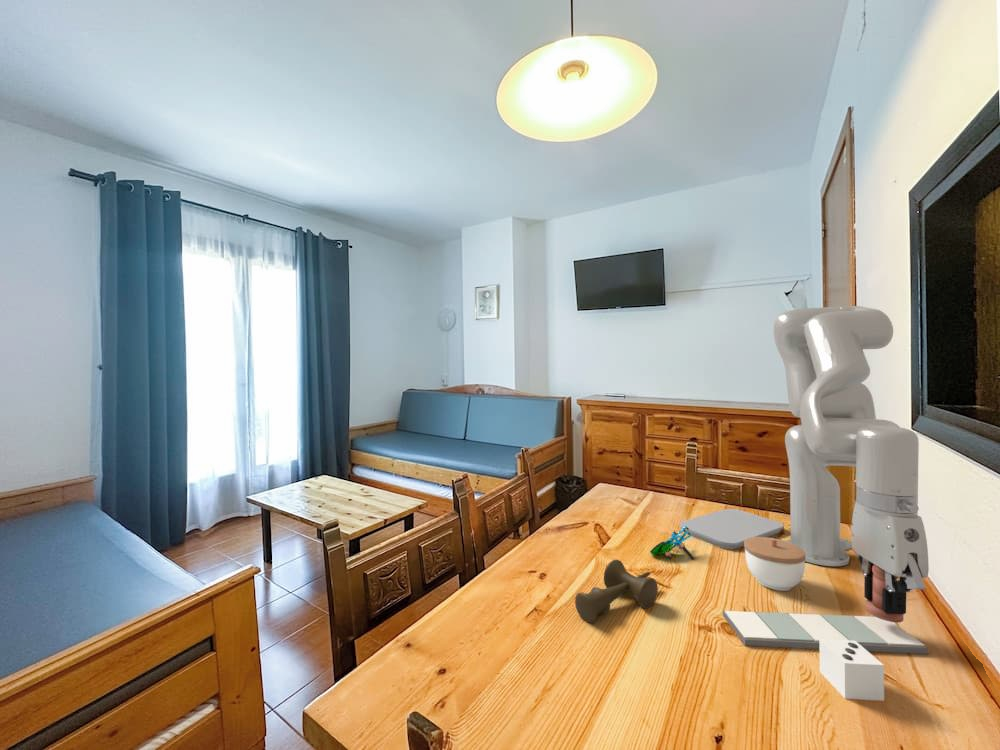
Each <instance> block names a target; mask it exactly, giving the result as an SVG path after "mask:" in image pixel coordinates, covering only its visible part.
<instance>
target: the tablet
mask: <svg viewBox="0 0 1000 750" xmlns="http://www.w3.org/2000/svg"><path fill="white" fill-rule="evenodd" d="M686 526H687V527H688V528H689V530H687V529H685V531H686V532H687V534H686V535H689V534H688V533H690V534H691V535H692V536H691V537H694V538H697V539H699V540H702V541H705V542H706V543H709V544H711V545H714V546H716V547H719V548H721V549H726V550H736V549H738V548H741V547H744V541H745V540H746V539H748V538H751V537H769V538H770V537H771V536H774V535H777V534H780V533H781V530H784V524H783V523H781V522H780V521H777V520H774V519H771V518H767V517H765V516H761V515H758V514H754V513H752V512H748V511H745V510H741V509H737V508H724V509H721V510H718V511H714V512H711V513H706V514H704V515H701V516H697V517H693V518H689V519H685V520H682V521H680V522H679V527H680V528H681V530H682V529H683V528H684V527H686ZM682 533H683V534H684V533H685V532H684V531H683V532H682Z"/></svg>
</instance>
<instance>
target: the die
mask: <svg viewBox="0 0 1000 750" xmlns="http://www.w3.org/2000/svg"><path fill="white" fill-rule="evenodd" d="M818 650H819V673H821V675H822V676H824V677H825V679H826V680H827V681H828V683H830V684H831V685H832V686H833V688H834V689H836V691H837V692H838V693H839V694H840V695H841V696H842V697H843V698H844V699H848V700H851V699H852V700H864V701H865V700H866V701H883V702H884V701H885V665H884V663H882V662H881V661H880V659H877V658H876V657H875V656H874V655H873V654H872V653H871V652H870V651H867V650H866V649H864V648H863V647H862V646H861V645H860V644H859V643H857V642H856V641H853V640H830V639H819V649H818Z"/></svg>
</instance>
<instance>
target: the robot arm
mask: <svg viewBox="0 0 1000 750" xmlns="http://www.w3.org/2000/svg"><path fill="white" fill-rule="evenodd" d="M893 336H894V326H893V323H892V321H891V319H890V317H889V316H888V315H887V313H885V312H883V311H882V310H879V309H876V308H871V307H866V306H859V305H846V306H845V305H843V306H842V305H841V306H828V307H807V308H805V307H804V308H797V309H792V310H788V311H784V312H782V313H780V314H779V315H778V316H776V318H775V320H774V323H773V338H774V343H775V346H776V348H777V352H778V353H779V356H780V358H781V359H782V361H783V364H784V368H785V379H786V380H785V381H786V389H787V401H788V405H789V406H788V407H789V410H790V413H791V414H792V415H793V416H794V417H797V418H800V421H801V422H800V423H801V424H798V425H794V426H792V427H790V428H788V430H787V431H786V433H785V436H784V445H785V449H786V454H787V455H786V456H787V460H788V468H789V491H790V492H789V493H790V494H789V495H790V496H789V498H790V499H789V502H790V503H789V505H790V509H789V510H790V511H789V513H790V517H789V518H790V539H787V540H785V541H786V542H789V543H792V544H794V545H796V546H798V547H800V548H801V549H802V550H803V551H804V552H805V562H806V563H810V564H813V565H819V566H824V567H843V566H847V565H849V563H850V556H849V555H848V553H847V552H849V551H852V552H853V553H854V554H855V555H856V557H857V559H858V561H859V563H860V565H861V573H862V574H863V576H864V593H863V594H864V596H863V597H864V598H865V599H866V600H873V571H872V566H873V565H874V564H875V565H876V566H878V567H880V568H881V569H883V570H885V581H886V588H883V590H882V610H883V611H884V612H885V613H887V614H904V615H906V614H907V593H910V592H911V591H912V590H926V584H925V582H924V580H923V579H925V578H927V577H928V576H929V567H930V566H929V552H928V551H929V550H928V539H927V534H926V530H925V525H924V523H923V522H924V521H923V518H922V516H920V515H918V514H919V513H918V511H919V501H918V500H919V499H918V498H919V449H920V448H919V445H920V444H919V437H918V434H916V432H914V430H911V429H908V428H905V427H900V425H898V424H897V423H895V422H893V421H891V420H887V419H878V418H877V417H876V410H875V403H874V398H873V395H872V393H871V391H870V390H869V388H868V387H867V385H865V384H863V382H865V381H866V380H867V379H868V378H869V377H870V374H871V368H870V364H869V362H868V360H867V357H866V356H865V352H864V350H879V349H883V348H886V347H887V346H888V345H889V344H890V343H891V342H892V341H891V340H892V339H893ZM828 466H831V467H832V466H841V467H843V466H844V467H856V468H855V503H854V508H853V511H852V518H851V529H850V530H851V532H850V533H851V534H850V536H851V537H850V539H851V541H849V540H848V538H841V488H840V483H839V482H838V480H837V478H836V477H835V476H834V475H833V474H832V473H831V472H830V471H829V470H828V469H827V467H828ZM895 577H898V578H899V579H897V581H896V582H895Z"/></svg>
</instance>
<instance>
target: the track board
mask: <svg viewBox="0 0 1000 750" xmlns="http://www.w3.org/2000/svg"><path fill="white" fill-rule="evenodd" d="M722 617H723V619H725V621H726V622H727V624H729V626H730V627H731V629H732V630H733V632H734V633H735V634H736V636H737V637H738V639H740V641H741V642H742V643H743V645H744V647H745V646H746V647H747V646H749V647H765V648H766V647H769V648H789V649H808V650H809V649H811V650H820V649H819V639H830V640H853V641H856V642H857V643H859V644H860V645H861V646H862V647H863V648H864V649H866V650H867V651H868V652H870V653H871V652H873V653H874V652H875V653H898V654H914V655H915V654H916V655H917V654H918V655H919V654H920V655H929V647H928V646H926V645H925V643H923V642H921V641H920V640H918V639H917V638H915V637H914V636H913V635H912V634H910V633H909V632H907V631H906V630H904V629H903V628H902V627H901V626H899V625H898V624H896V622H889V621H885V620H882V619H880V618H877V617H875V616H873V615H872V616H871V615H870V616H869V615H848V614H847V615H846V614H845V615H844V614H841V615H840V614H822V613H817V614H816V613H795V612H794V613H792V612H769V611H767V612H766V611H764V612H763V611H744V610H743V611H742V610H741V611H739V610H723V611H722Z"/></svg>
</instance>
